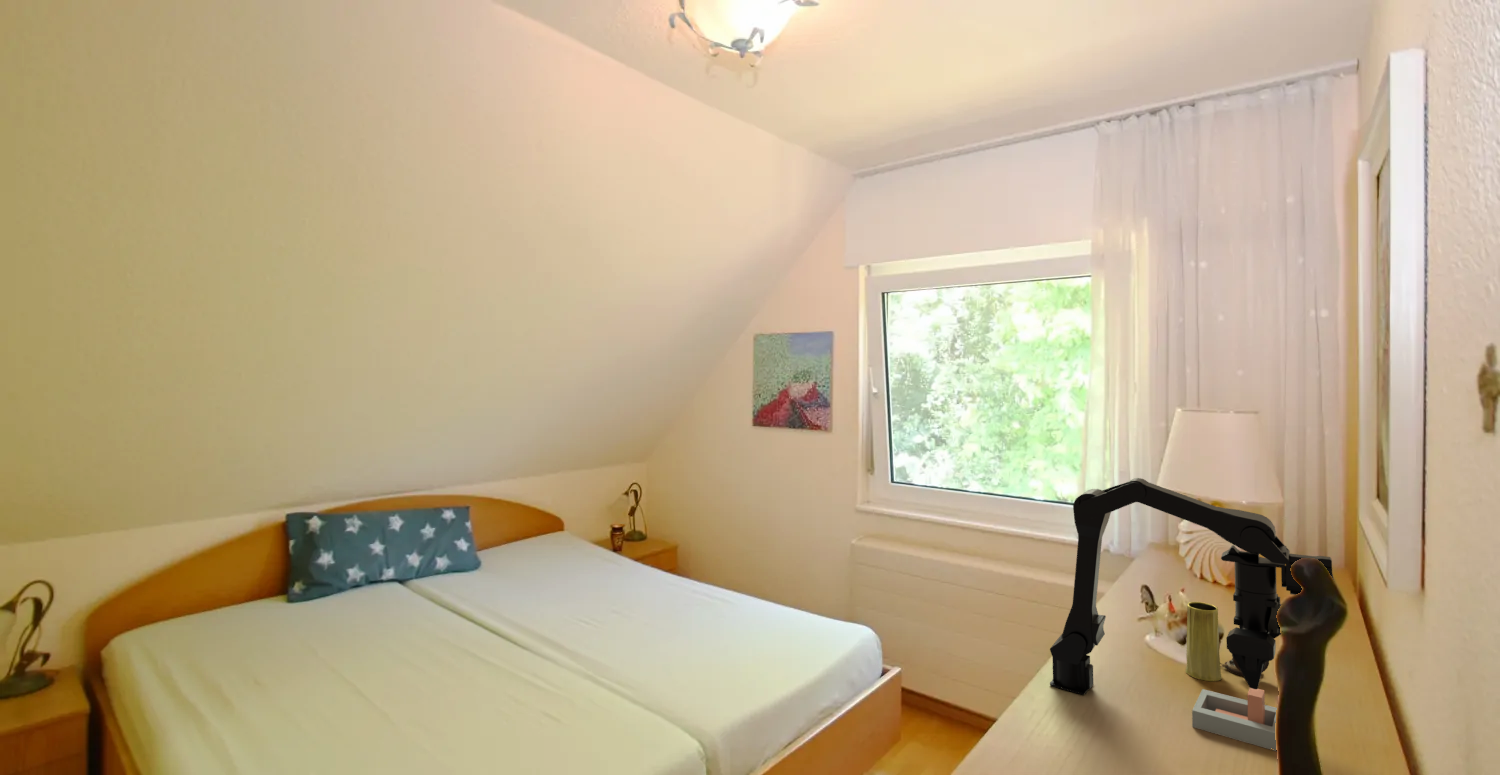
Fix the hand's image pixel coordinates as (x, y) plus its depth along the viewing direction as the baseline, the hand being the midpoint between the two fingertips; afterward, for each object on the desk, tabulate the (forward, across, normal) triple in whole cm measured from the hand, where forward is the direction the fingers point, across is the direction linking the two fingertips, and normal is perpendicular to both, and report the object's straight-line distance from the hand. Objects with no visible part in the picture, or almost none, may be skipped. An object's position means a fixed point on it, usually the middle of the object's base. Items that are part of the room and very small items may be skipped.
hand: (1257, 678), depth 115 cm
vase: (+10, +19, +11) cm, 24 cm away
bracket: (+9, 0, +3) cm, 10 cm away
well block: (+9, 0, +3) cm, 10 cm away
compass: (+10, +25, +6) cm, 27 cm away
